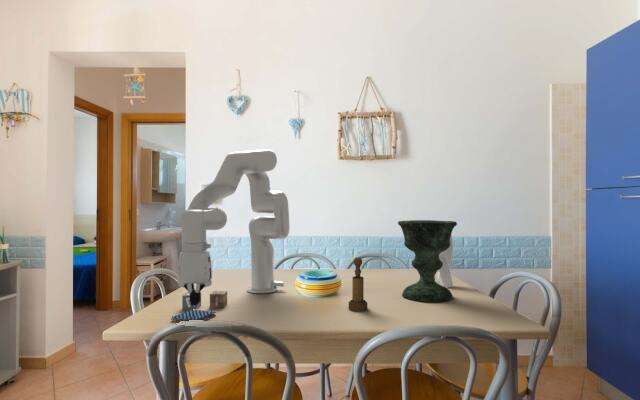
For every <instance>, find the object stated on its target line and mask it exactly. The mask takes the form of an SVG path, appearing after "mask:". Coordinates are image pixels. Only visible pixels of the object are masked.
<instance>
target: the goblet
mask: <svg viewBox="0 0 640 400" xmlns="http://www.w3.org/2000/svg"><path fill="white" fill-rule="evenodd" d="M397 224H398V226H399V227H400V228H401V231H402V234H403V237H404V238H403V239H404V242H403V244H404V245H403V246H405V248H407V250H409V251H411V252H413V253H414V258H413V259H412V260H411V266H412V268H414V269H416V271H417V272H418V274H419V279H418V281H417V282H414V283H413V284H410V285H408V286H406V287H405V288H404V290H403V291H402V294H401V295H402V297H403V298H405V299H409V300H413V301H418V302H426V303H427V302H429V303H437V302H438V303H439V302H440V303H441V302H447V301H451V300H453V299H454V296H453V294H452V292H451V290H450V288H446V287H444V286H441V285H439V284H437V283H436V279H435V280H434V276H435V275H436V273H438V270H440V269H441V268H442V265H443V263H442V261H440V259H439V254H440V253H441V252H443V251H445V250H447V249H448V248H449V247H450V237H451V235H452V233H453V231H454V228H455V227H456V226H458V223H457V221H455V220H454V221H453V220H436V219H435V220H429V219H427V220H426V219H425V220H424V219H422V220H421V219H420V220H419V219H415V220H398V221H397Z"/></svg>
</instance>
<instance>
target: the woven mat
mask: <svg viewBox="0 0 640 400" xmlns="http://www.w3.org/2000/svg"><path fill="white" fill-rule="evenodd" d="M216 313H217V312H216V311H212V310H210V311H209V310H201V309H197V310H193V309H192V310H186V311H185V312H182V313H178V314H175V315H174V316H171V318H170V322H172V321H173V322H174V323H176V322H178V323H179V321H189V320H205V321H208V320H209V319H208V318H210V319H212V318H214V317H216V316H217V314H216ZM213 316H214V317H213ZM211 317H212V318H211Z"/></svg>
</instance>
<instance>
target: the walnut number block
mask: <svg viewBox="0 0 640 400" xmlns="http://www.w3.org/2000/svg"><path fill="white" fill-rule="evenodd" d="M227 305H228V291H227V290H213V291H212V292H210V294H209V309H224V308H225V307H227Z"/></svg>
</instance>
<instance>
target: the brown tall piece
mask: <svg viewBox="0 0 640 400" xmlns="http://www.w3.org/2000/svg"><path fill="white" fill-rule="evenodd" d="M353 264H354V266H355V269H354V276H352V277H351V278H352V279H351V280H352V281H351V282H352V288H351V289H352V295H351V296H352V297H351V298H352V299H351V300H349V301H348V310H349V311H351V312H366V311H368V307H369V306H368V302H367V301H366V300H365V299H364V297H365V296H364V276H361V274H362V269H361V266H362V264H363V259H362V258H361V257H355V258H354V259H353Z"/></svg>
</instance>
